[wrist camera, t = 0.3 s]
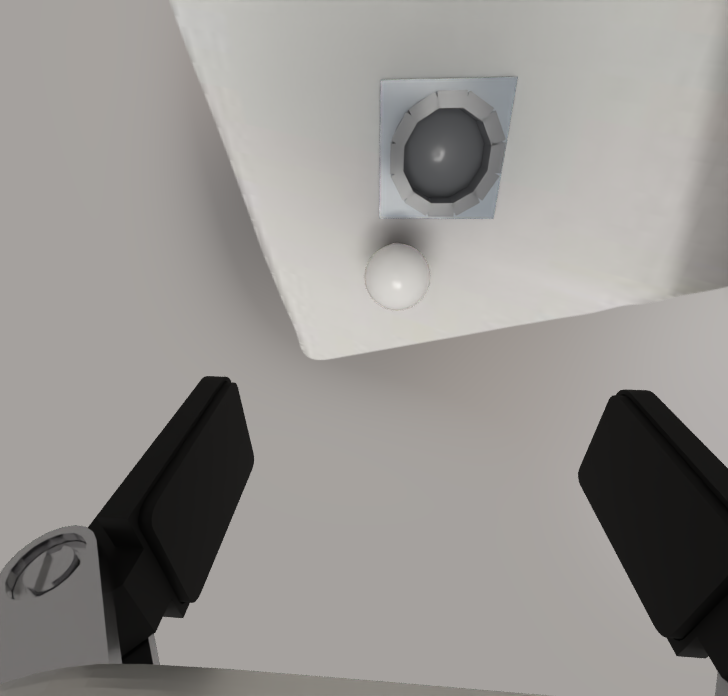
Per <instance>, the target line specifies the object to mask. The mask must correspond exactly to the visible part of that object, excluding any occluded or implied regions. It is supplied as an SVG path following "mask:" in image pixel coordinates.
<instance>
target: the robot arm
mask: <svg viewBox="0 0 728 696" xmlns="http://www.w3.org/2000/svg"><path fill="white" fill-rule="evenodd" d="M253 464H254V455H253V450H252V445H251V441H250V437H249V433H248V429H247V424H246V420H245V416H244V412H243V407H242V403H241V399H240V395H239V391H238V387H237V384H236V383H231V380H230V379H229V378H228V377H214V376H206V377H204V378H202V379H201V381H200V382H199V383H198V385H197V386H196V387H195V389H194V390H193V391H192V393H191V394H190V395H189V397H188V398H187V399H186V400H185V402H184V403H183V405H182V406H181V407H180V408H179V410H178V411H177V412H176V414H175V415H174V416H173V417H172V419H171V420H170V421H169V423H168V424H167V425H166V426H165V428H164V429H163V430H162V432H161V433H160V434H159V435H158V437H157V438H156V439H155V441H154V442H153V443H152V445H151V446H150V447H149V448H148V450H147V451H146V452H145V454H144V455H143V456H142V458H141V459H140V460H139V462H138V463H137V464H136V465H135V467H134V468H133V470H132V471H131V472H130V473H129V475H128V476H127V477H126V478H125V480H124V481H123V483H122V484H121V485H120V487H119V488H118V489H117V490H116V492H115V493H114V494H113V495H112V497H111V498H110V500H109V501H108V502H107V503H106V505H105V506H104V507H103V508H102V510H101V511H100V513H99V514H98V515H97V516H96V518H95V519H94V520H93V522H92V523H91V524H90V526H89V527H88V528H87V527H83V526H77V525H75V526H68V527H62V528H59V529H56V530H53V531H51V532H48V533H46V534H44V535H42V536H41V537H39V538H37V539H35V540H34V541H32V542H31V543H29V544H28V545H27V546H25V547H24V548H23V549H21V550H20V551H19V552H18V553H17V554H16V555H15V556H14V557H13V558H12V559H11V560H10V561H9V562H8V563H7V564H6V565H5V567H4V568H3V570H2V572H1V573H0V696H547V695H535V694H523V693H511V692H500V691H488V690H477V689H465V688H454V687H442V686H430V685H418V684H406V683H395V682H383V681H370V680H359V679H346V678H333V677H321V676H309V675H296V674H284V673H271V672H259V671H246V670H234V669H218V668H202V667H183V666H168V665H160V663H159V657H158V653H157V647H156V643H155V637H154V633H155V632H156V630H157V628H158V626H159V623H160V621H161V619H162V617H175V618H183V617H184V615H185V613H186V610H187V608H188V606H189V603H193V602H195V601H196V600H197V599H198V597H199V595H200V593H201V591H202V589H203V586H204V584H205V581H206V579H207V577H208V574H209V572H210V569H211V567H212V565H213V562H214V560H215V557H216V555H217V553H218V550H219V548H220V545H221V543H222V541H223V538H224V536H225V533H226V531H227V529H228V526H229V523H230V521H231V519H232V516H233V514H234V511H235V509H236V506H237V504H238V502H239V500H240V497H241V494H242V492H243V490H244V487H245V485H246V483H247V480H248V478H249V475H250V473H251V471H252V468H253ZM578 478H579V483H580V485H581V487H582V489H583V491H584V493H585V495H586V497H587V499H588V501H589V502H590V504H591V506H592V508H593V510H594V512H595V514H596V516H597V518H598V520H599V522H600V523H601V525H602V527H603V529H604V531H605V533H606V535H607V537H608V539H609V541H610V542H611V544H612V546H613V548H614V550H615V552H616V554H617V556H618V558H619V560H620V562H621V563H622V565H623V567H624V569H625V571H626V573H627V575H628V577H629V579H630V581H631V582H632V585H633V586H634V588H635V590H636V592H637V594H638V596H639V598H640V600H641V602H642V603H643V605H644V607H645V609H646V611H647V613H648V615H649V617H650V619H651V621H652V623H653V625H654V626H655V628H656V629H657V631H658V632H659V633H660V634H661V635H662V636H664V637H666V638H667V639H668V641H669V643H670V644H671V646H672V648H673V650H674V652H675V654H676V656H682V657H695V658H696V657H697V658H707V657H708V656H709V657H710V659H711V660H712V662H713V664H714V666H715V667H716V669H717V670H718V674H717V683H716V692H715V696H728V468H727V467H726V466H725V465H724V464H723V463H722V462H721V461H720V460H719V459H718V458H717V457H716V456H715V455H714V454H713V453H712V452H711V451H710V450H709V449H708V448H707V447H706V446H705V445H704V444H703V443H702V442H701V441H700V440H699V439H698V438H697V437H696V436H695V435H694V434H693V433H692V432H691V431H690V430H689V429H688V428H687V427H686V426H685V425H684V424H683V423H682V421H680V419H679V418H677V417H676V416H675V414H674V413H673V412H672V411H671V410H670V409H668V407H667V406H666V405H665V404H664V403H663V402H662V401H661V400H660V399H659V398H658V397H657V396H656V395H655V394H654V393H652V392H651V391H647V390H620V391H619V392H618V393H617V394H616V395H615V396H612V397H610V399H609V401H608V403H607V405H606V408H605V410H604V412H603V415H602V417H601V419H600V422H599V424H598V426H597V429H596V431H595V433H594V436H593V438H592V441H591V443H590V445H589V447H588V450H587V452H586V454H585V457H584V459H583V461H582V464H581V466H580V469H579V472H578Z"/></svg>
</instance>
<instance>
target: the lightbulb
mask: <svg viewBox="0 0 728 696" xmlns="http://www.w3.org/2000/svg"><path fill="white" fill-rule="evenodd" d="M364 279H365V286H366V289H367V292H368V294H369V295H370V297H371V298H372V299H373V301H374V302H375V303H377V304H378V305H379V306H381V307H383V308H385V309H389V310H395V311H399V310H405V309H408V308H411V307H413V306H414V305H416V304H417V303H419V302H420V301H421V300H422V298H423V297H424V296H425V294H426V292H427V290H428V288H429V284H430V269H429V265H428V263H427V261H426V259H425V258H424V256H423V255H422V254H421V253H420V252H419V251H418V250H417V249H415V248H413V247H411V246H409V245H405V244H402V243H398V242H396V243H392V244H390V245H387V246H385V247H383V248H381V249H379V250H378V251H377V252H376V253H374V255H373V256H372V257H371V258H370V260H369V262H368V264H367V266H366V269H365V276H364Z"/></svg>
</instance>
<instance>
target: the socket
mask: <svg viewBox="0 0 728 696" xmlns="http://www.w3.org/2000/svg"><path fill="white" fill-rule="evenodd" d="M517 79H518V77H484V78H438V79H392V80H381V92H380V198H379V218H422V219H494V213H495V207H496V201H497V195H498V190H499V184H500V178H501V172H502V166H503V161H504V155H505V149H506V143H507V137H508V132H509V126H510V120H511V114H512V108H513V103H514V97H515V91H516V85H517Z"/></svg>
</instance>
